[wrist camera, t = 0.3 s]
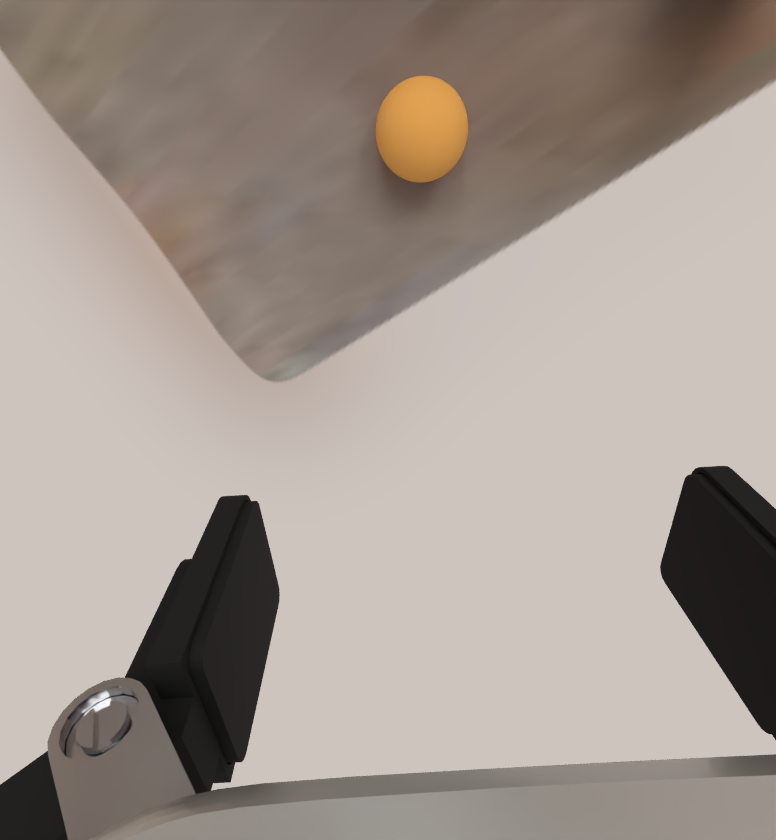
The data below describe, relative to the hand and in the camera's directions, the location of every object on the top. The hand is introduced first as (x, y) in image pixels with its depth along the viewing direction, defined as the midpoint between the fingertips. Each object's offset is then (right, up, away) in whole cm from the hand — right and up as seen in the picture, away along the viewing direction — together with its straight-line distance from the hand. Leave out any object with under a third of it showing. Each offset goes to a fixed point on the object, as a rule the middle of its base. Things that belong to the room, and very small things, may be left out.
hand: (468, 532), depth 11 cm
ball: (0, +20, +18) cm, 27 cm away
